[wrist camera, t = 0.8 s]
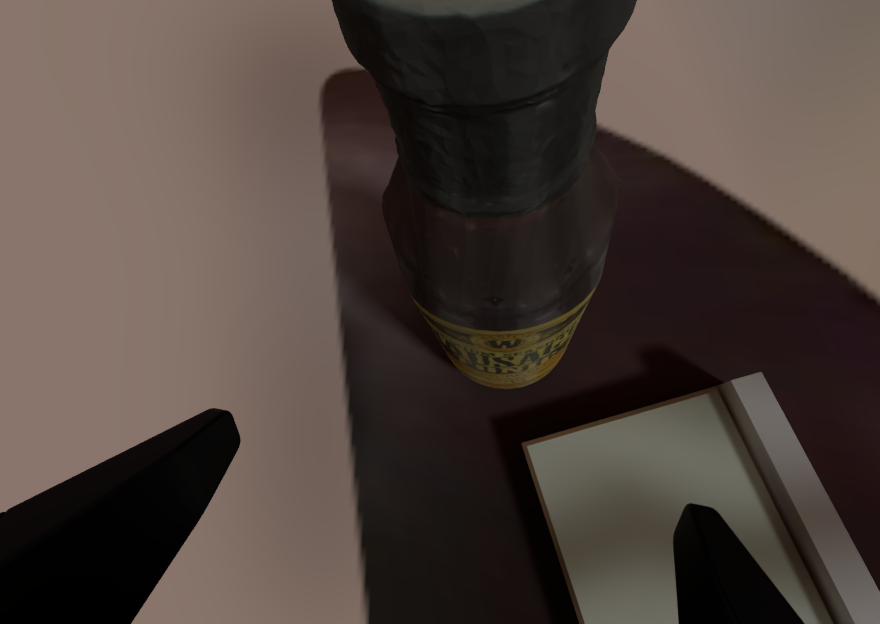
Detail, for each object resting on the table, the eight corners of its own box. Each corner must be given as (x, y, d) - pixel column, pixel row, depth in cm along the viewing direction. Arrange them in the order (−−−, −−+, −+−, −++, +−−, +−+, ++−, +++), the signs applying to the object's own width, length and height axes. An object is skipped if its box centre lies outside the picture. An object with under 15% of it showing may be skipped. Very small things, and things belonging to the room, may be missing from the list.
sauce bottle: (448, 395, 23) (118, 154, 5) (448, 283, 25) (216, -204, 7) (578, 392, 22) (842, 55, 3) (568, 276, 24) (701, -348, 5)
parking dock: (881, 689, 17) (961, 742, 14) (619, 747, 18) (638, 809, 15) (727, 384, 21) (761, 371, 18) (522, 443, 22) (520, 442, 19)
